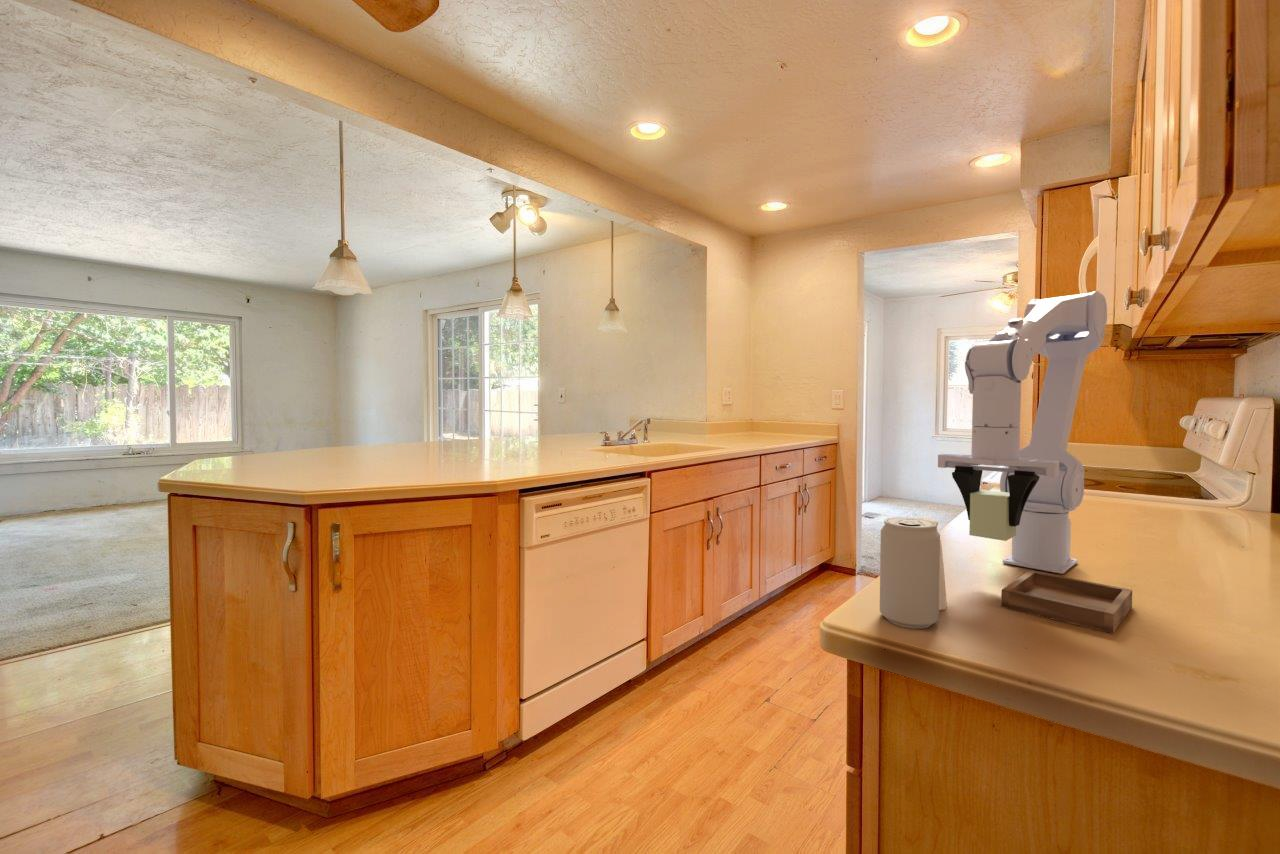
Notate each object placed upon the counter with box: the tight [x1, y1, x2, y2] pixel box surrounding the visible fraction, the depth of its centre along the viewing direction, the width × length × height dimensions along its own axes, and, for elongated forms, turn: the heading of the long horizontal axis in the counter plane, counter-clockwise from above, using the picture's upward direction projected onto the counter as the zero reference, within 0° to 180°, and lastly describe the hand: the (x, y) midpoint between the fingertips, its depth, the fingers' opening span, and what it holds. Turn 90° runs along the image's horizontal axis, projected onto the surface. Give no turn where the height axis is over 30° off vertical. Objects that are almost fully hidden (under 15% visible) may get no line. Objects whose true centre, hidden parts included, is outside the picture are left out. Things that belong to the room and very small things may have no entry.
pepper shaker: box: [917, 517, 948, 611], centre depth 72 cm, size 5×5×11 cm
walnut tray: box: [1000, 570, 1133, 634], centre depth 71 cm, size 12×11×2 cm
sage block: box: [968, 489, 1016, 542], centre depth 80 cm, size 4×4×6 cm
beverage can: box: [879, 516, 941, 630], centre depth 67 cm, size 6×6×12 cm
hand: (993, 522), depth 80 cm, fingers closed on sage block, 4 cm apart
